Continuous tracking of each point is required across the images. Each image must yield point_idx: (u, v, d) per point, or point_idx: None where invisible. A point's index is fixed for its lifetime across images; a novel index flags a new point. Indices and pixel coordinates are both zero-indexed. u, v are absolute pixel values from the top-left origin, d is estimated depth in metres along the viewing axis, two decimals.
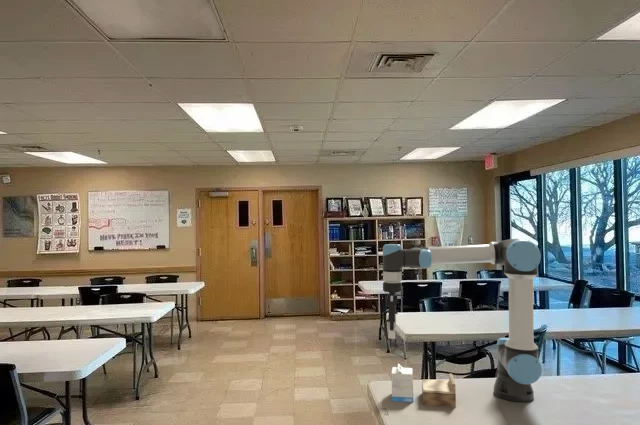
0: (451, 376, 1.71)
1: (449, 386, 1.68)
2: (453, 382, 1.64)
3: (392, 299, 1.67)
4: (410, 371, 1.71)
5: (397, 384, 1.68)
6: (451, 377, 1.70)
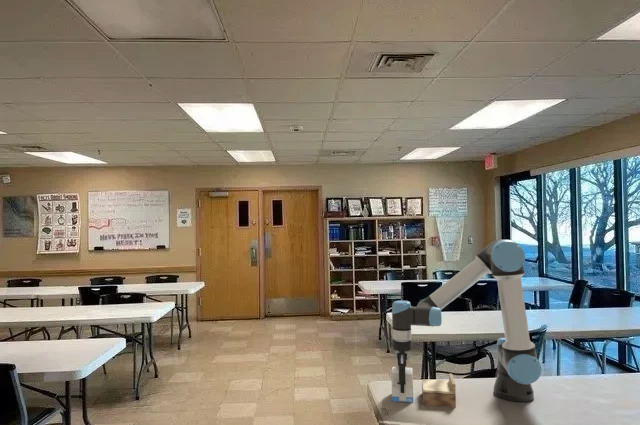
0: (451, 376, 1.71)
1: (449, 386, 1.68)
2: (453, 382, 1.64)
3: (402, 362, 1.66)
4: (410, 371, 1.71)
5: (397, 384, 1.68)
6: (451, 377, 1.70)
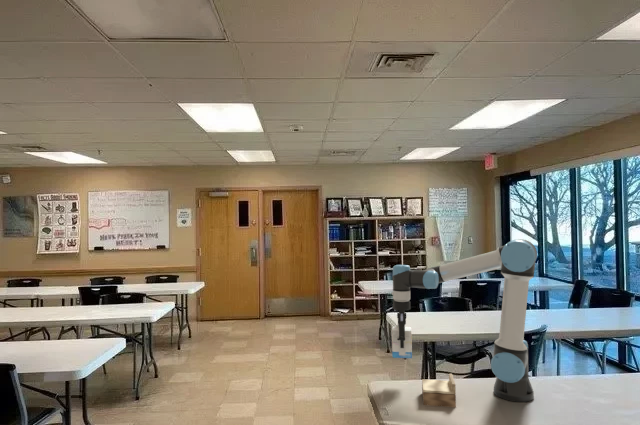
0: (451, 376, 1.71)
1: (449, 386, 1.68)
2: (453, 382, 1.64)
3: (402, 319, 1.80)
4: (408, 329, 1.85)
5: (397, 340, 1.82)
6: (451, 377, 1.70)
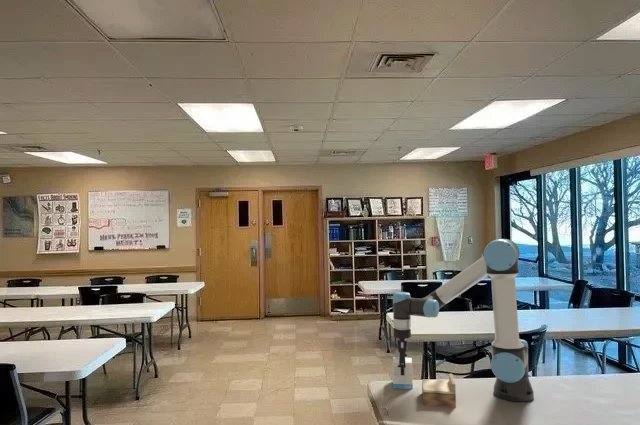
0: (451, 376, 1.71)
1: (449, 386, 1.68)
2: (453, 382, 1.64)
3: (402, 346, 1.79)
4: (409, 361, 1.84)
5: (398, 372, 1.82)
6: (451, 377, 1.70)
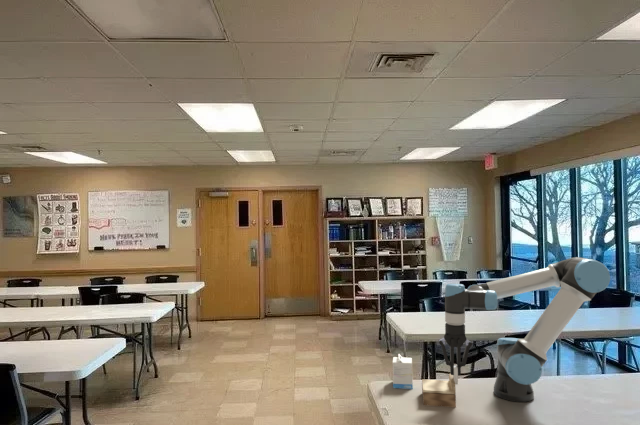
0: (451, 376, 1.71)
1: (449, 386, 1.68)
2: (453, 382, 1.64)
3: (440, 343, 1.69)
4: (409, 360, 1.84)
5: (398, 372, 1.82)
6: (451, 377, 1.70)
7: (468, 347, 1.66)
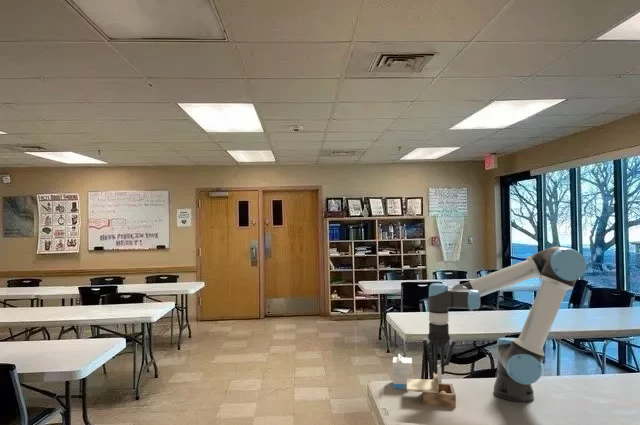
0: (435, 375, 1.72)
1: (433, 385, 1.69)
2: (436, 381, 1.65)
3: (424, 343, 1.71)
4: (409, 361, 1.84)
5: (398, 372, 1.82)
6: (435, 376, 1.71)
7: (451, 346, 1.68)
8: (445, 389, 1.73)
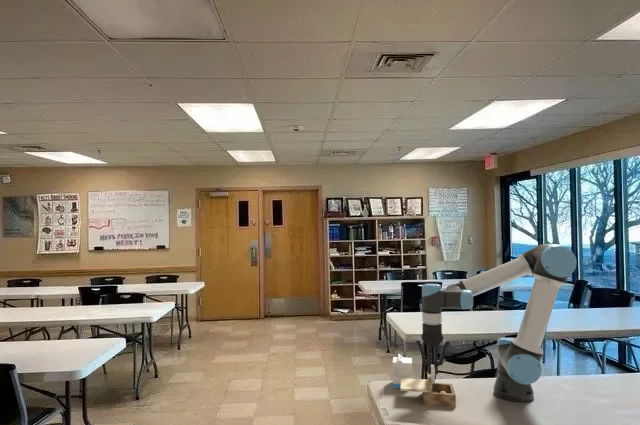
0: (429, 375, 1.72)
1: (426, 385, 1.70)
2: (430, 381, 1.66)
3: (417, 343, 1.71)
4: (409, 361, 1.84)
5: (398, 372, 1.82)
6: (429, 376, 1.71)
7: (445, 346, 1.68)
8: (445, 389, 1.73)
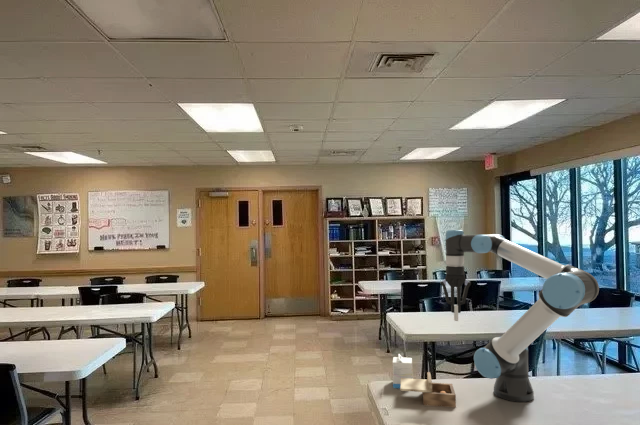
0: (429, 375, 1.72)
1: (426, 385, 1.70)
2: (430, 381, 1.66)
3: (441, 284, 1.84)
4: (409, 361, 1.84)
5: (398, 372, 1.82)
6: (429, 376, 1.71)
7: (467, 286, 1.81)
8: (445, 389, 1.73)
